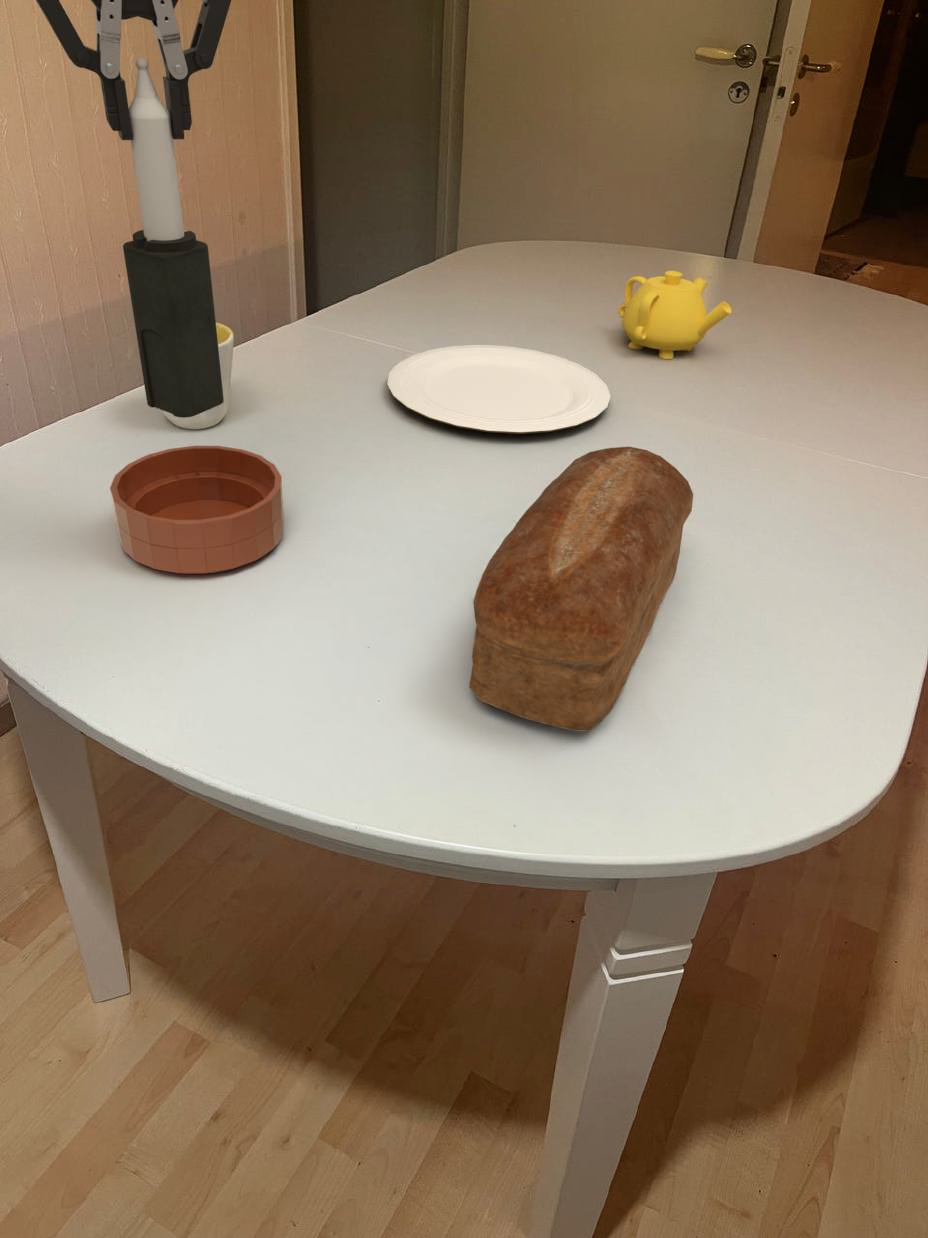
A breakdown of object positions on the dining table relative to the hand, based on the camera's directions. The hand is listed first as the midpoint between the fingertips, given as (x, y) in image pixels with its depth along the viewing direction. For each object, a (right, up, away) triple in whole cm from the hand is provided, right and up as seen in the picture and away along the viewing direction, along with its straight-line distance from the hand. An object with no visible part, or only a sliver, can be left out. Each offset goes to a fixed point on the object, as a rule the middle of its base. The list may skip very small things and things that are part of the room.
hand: (151, 136), depth 66 cm
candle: (-1, -16, +12) cm, 20 cm away
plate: (+27, -5, +56) cm, 62 cm away
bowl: (-3, -26, +23) cm, 35 cm away
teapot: (+54, +7, +75) cm, 93 cm away
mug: (-9, -10, +46) cm, 48 cm away
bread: (+32, -35, +15) cm, 50 cm away
